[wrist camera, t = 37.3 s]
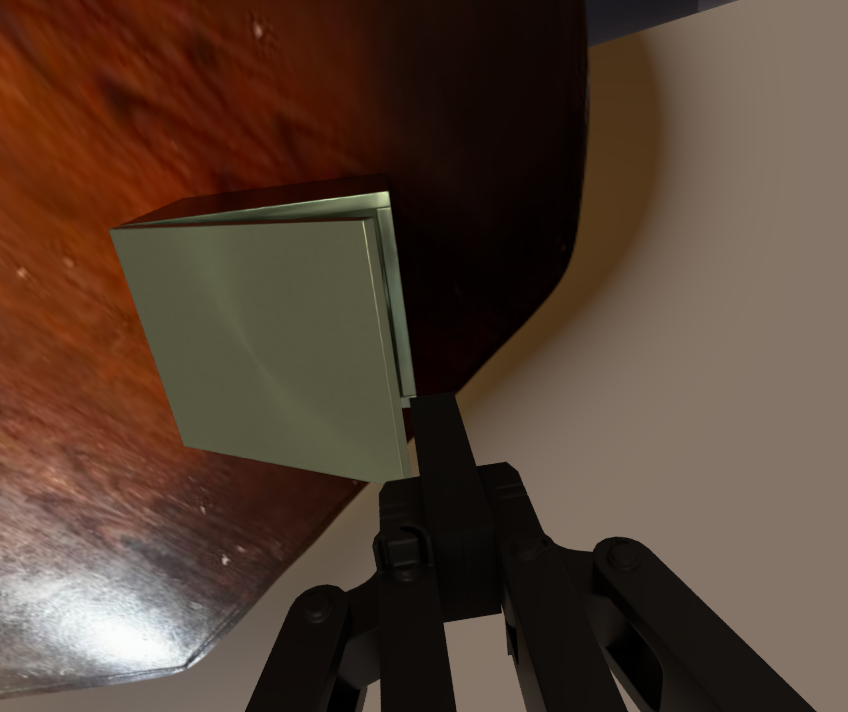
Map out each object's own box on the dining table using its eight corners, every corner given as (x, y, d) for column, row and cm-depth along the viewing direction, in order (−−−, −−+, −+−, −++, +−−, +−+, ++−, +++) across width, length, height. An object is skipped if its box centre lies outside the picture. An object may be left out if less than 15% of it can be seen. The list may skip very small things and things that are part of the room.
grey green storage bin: (385, 172, 37) (389, 190, 28) (408, 344, 42) (418, 406, 33) (181, 198, 36) (118, 225, 27) (230, 368, 41) (191, 438, 32)
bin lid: (373, 215, 21) (363, 220, 21) (413, 479, 26) (405, 489, 26) (121, 225, 27) (107, 228, 26) (193, 439, 32) (183, 446, 32)
